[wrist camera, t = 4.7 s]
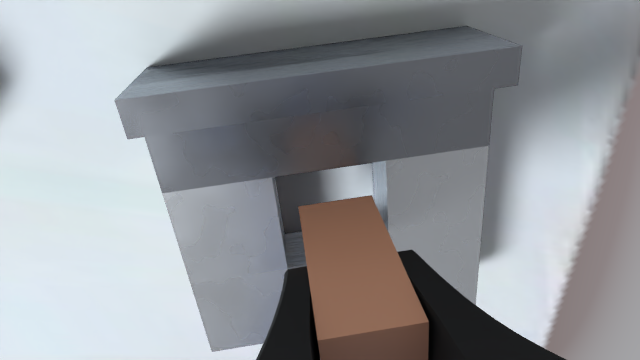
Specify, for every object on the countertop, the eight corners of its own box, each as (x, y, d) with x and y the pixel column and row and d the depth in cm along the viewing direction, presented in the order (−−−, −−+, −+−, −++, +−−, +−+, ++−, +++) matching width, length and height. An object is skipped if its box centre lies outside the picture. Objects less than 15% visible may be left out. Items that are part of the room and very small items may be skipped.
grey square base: (454, 272, 22) (490, 332, 19) (217, 311, 22) (208, 380, 18) (466, 26, 17) (522, 46, 13) (147, 67, 16) (114, 100, 12)
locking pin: (374, 254, 17) (427, 395, 11) (306, 265, 17) (328, 412, 11) (371, 195, 15) (429, 322, 10) (298, 206, 15) (317, 340, 10)
